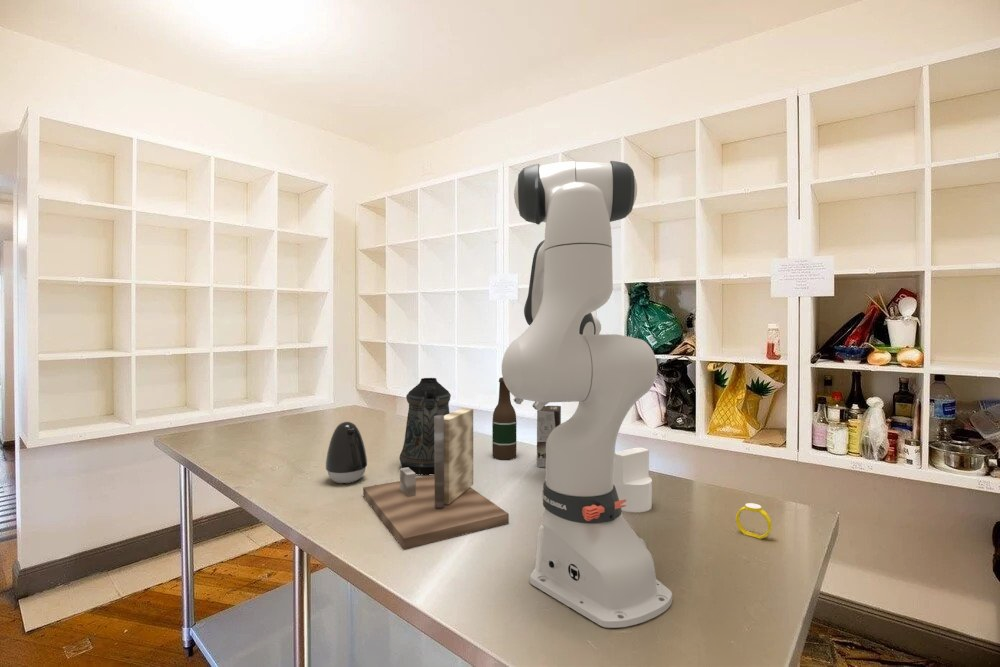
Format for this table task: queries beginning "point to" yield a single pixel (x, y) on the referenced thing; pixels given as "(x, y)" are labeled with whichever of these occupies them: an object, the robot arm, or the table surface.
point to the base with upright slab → (633, 479)
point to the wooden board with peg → (429, 510)
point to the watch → (753, 508)
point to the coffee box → (546, 429)
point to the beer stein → (423, 425)
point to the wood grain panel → (453, 455)
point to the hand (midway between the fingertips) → (525, 405)
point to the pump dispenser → (346, 454)
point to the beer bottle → (504, 426)
